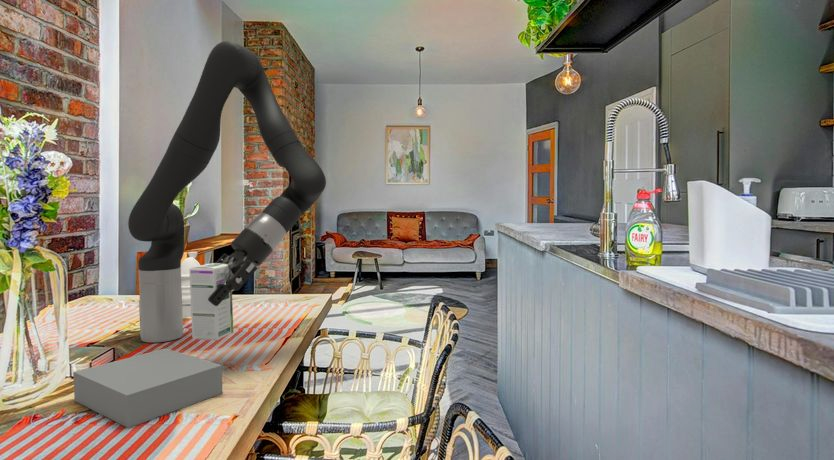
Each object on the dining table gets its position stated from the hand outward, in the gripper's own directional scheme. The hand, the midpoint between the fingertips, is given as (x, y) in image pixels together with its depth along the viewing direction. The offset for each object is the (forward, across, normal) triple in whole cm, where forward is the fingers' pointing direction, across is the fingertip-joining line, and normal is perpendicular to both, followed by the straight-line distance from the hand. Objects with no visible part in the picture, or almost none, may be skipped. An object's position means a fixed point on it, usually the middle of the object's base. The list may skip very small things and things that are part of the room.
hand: (204, 299), depth 99 cm
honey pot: (+1, -55, +20) cm, 58 cm away
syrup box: (+5, 0, +6) cm, 8 cm away
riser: (+18, +8, +1) cm, 20 cm away
